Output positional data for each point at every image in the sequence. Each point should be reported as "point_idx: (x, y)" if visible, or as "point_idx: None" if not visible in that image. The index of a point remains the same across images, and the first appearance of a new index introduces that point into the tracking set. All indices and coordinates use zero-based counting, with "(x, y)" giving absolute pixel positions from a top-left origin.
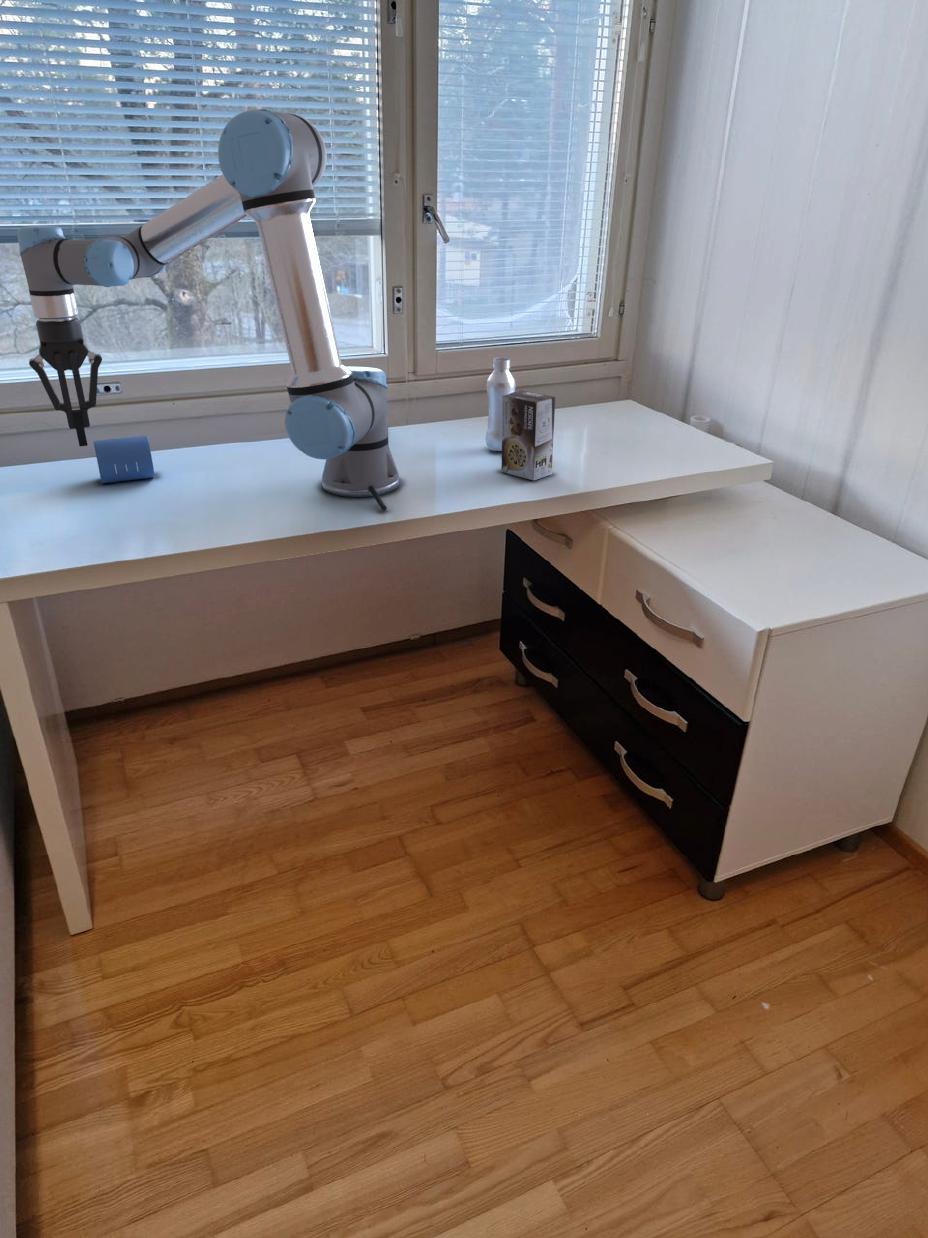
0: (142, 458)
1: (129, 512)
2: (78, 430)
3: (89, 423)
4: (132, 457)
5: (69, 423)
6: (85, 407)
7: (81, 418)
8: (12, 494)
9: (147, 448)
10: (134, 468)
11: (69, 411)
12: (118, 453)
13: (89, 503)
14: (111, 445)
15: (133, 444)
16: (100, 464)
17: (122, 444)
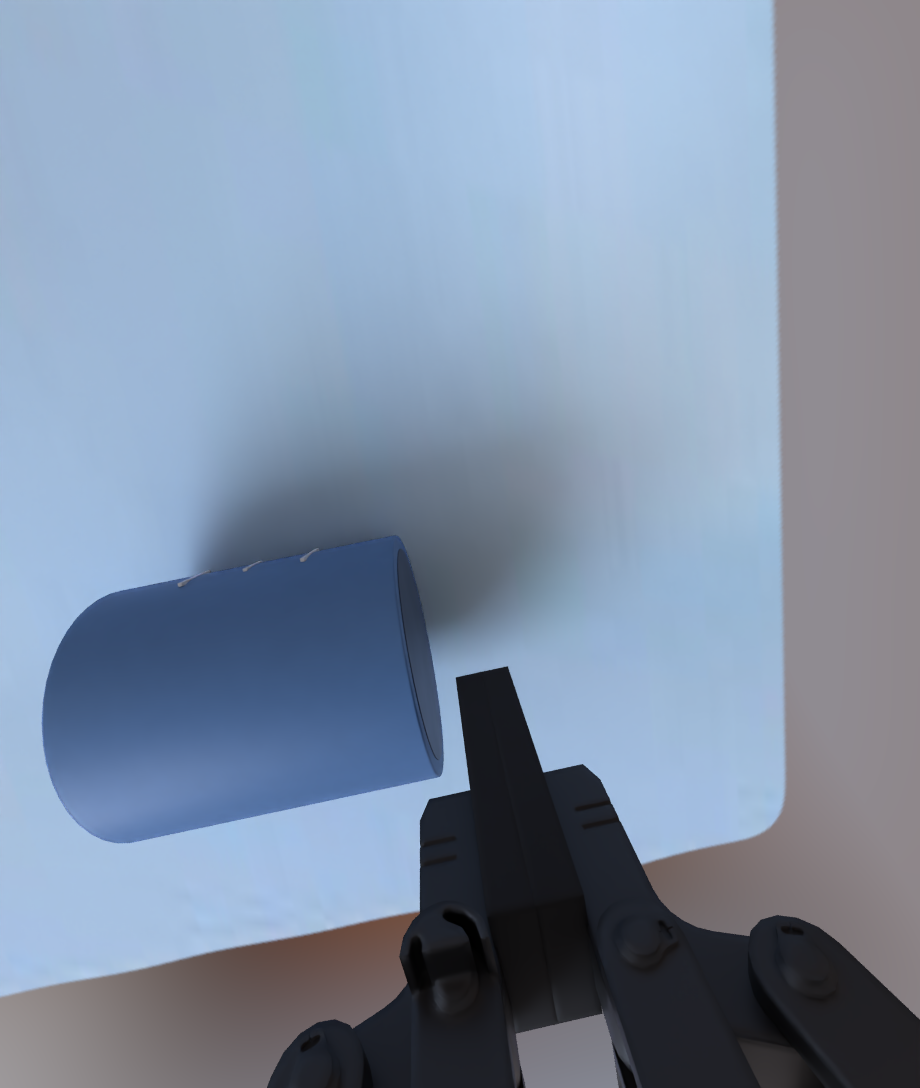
0: (134, 603)
1: (184, 77)
2: (514, 745)
3: (421, 826)
4: (187, 600)
5: (599, 804)
6: (425, 1003)
7: (484, 845)
8: (773, 513)
9: (66, 660)
10: (215, 572)
11: (625, 915)
12: (258, 609)
13: (429, 302)
14: (293, 668)
15: (146, 687)
16: (381, 550)
17: (220, 682)
